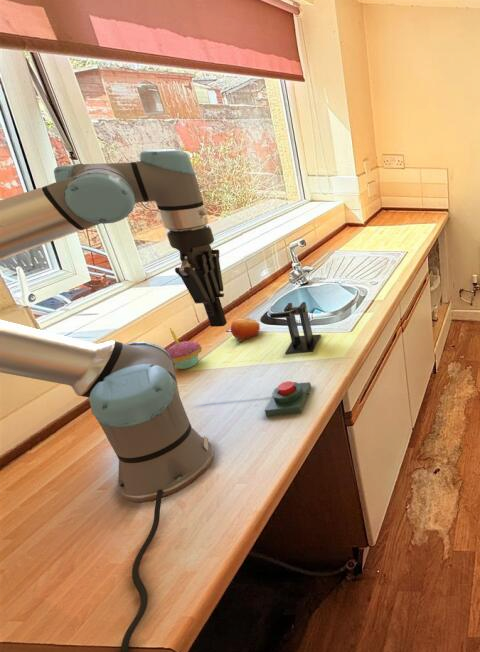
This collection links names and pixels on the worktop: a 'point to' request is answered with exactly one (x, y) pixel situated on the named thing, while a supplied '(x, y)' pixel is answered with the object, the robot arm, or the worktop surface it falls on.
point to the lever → (286, 313)
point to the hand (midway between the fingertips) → (219, 324)
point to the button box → (288, 401)
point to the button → (286, 388)
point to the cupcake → (184, 352)
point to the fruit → (244, 328)
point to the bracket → (298, 342)
